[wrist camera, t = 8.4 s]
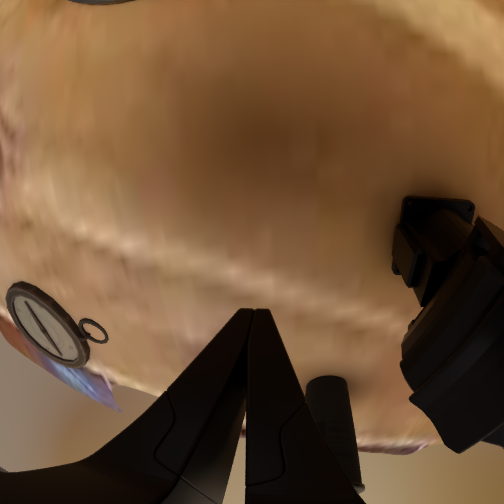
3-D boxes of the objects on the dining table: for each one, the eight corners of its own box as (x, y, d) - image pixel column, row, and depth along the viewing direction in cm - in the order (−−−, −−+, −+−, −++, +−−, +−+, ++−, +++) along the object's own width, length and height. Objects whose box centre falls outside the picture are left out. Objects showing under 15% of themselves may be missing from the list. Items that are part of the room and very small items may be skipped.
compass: (22, 329, 38) (16, 336, 36) (2, 260, 30) (-7, 268, 28) (113, 382, 40) (108, 392, 38) (110, 323, 31) (102, 335, 29)
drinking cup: (285, 395, 33) (266, 547, 16) (309, 362, 29) (297, 551, 12) (339, 405, 33) (336, 546, 16) (370, 374, 29) (380, 543, 12)
